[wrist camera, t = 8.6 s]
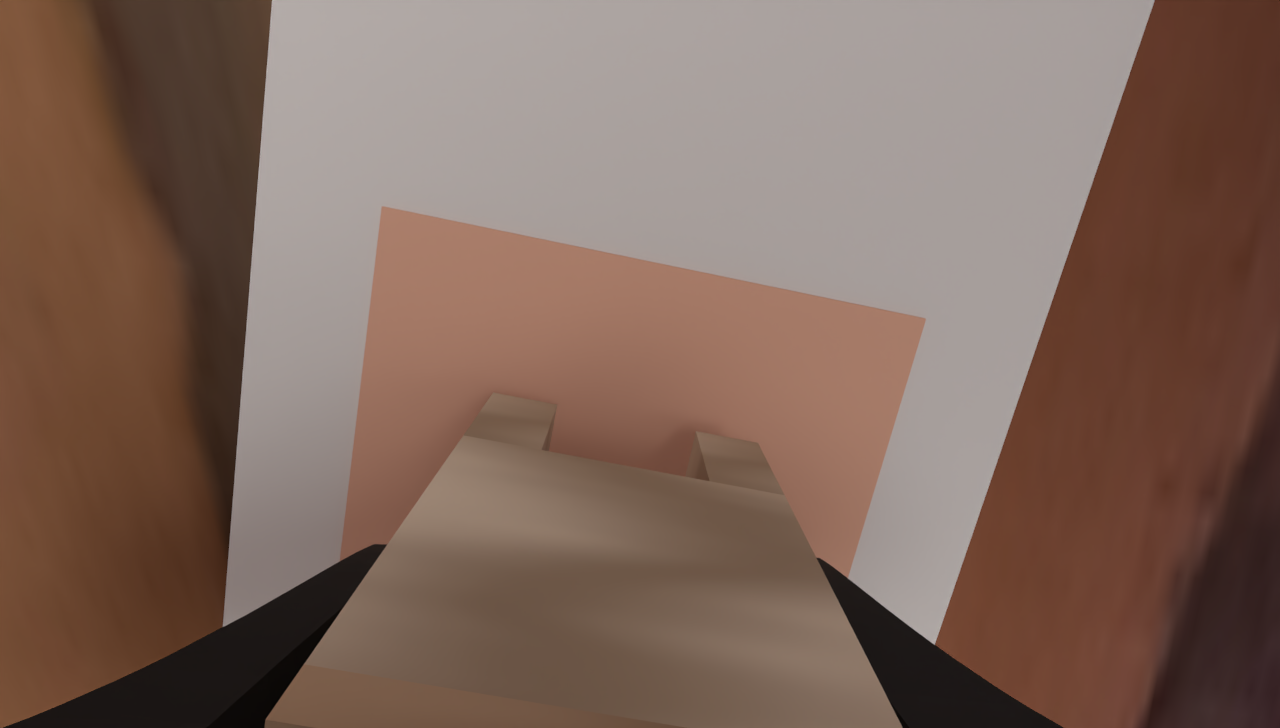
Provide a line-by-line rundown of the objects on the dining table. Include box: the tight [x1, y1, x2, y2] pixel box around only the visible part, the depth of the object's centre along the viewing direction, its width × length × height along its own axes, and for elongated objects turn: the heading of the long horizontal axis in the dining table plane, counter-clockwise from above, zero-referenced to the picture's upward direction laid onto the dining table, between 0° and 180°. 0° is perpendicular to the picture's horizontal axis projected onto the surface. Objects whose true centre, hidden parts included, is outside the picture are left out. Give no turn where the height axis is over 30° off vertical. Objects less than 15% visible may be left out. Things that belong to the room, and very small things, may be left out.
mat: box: [223, 0, 1155, 645], centre depth 11 cm, size 23×13×1 cm, turn 168°
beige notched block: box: [265, 392, 903, 728], centre depth 8 cm, size 4×4×7 cm
